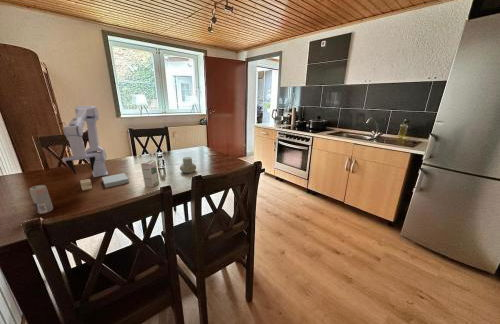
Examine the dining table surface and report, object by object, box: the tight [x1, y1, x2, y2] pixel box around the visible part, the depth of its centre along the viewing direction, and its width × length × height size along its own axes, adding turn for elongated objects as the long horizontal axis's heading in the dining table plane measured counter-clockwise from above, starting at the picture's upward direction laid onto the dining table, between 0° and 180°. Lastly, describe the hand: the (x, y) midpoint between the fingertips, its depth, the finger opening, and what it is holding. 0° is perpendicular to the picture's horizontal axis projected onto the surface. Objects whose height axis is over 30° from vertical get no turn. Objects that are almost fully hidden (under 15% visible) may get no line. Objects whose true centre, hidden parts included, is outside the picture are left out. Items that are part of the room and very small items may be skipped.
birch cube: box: [79, 178, 93, 191], centre depth 115 cm, size 4×4×4 cm
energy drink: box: [29, 184, 54, 215], centre depth 91 cm, size 5×5×12 cm
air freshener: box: [179, 156, 197, 174], centre depth 141 cm, size 11×8×10 cm
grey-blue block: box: [101, 172, 130, 189], centre depth 124 cm, size 12×12×3 cm
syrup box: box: [140, 159, 160, 188], centre depth 119 cm, size 6×6×14 cm
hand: (84, 171), depth 113 cm, fingers open, 7 cm apart
